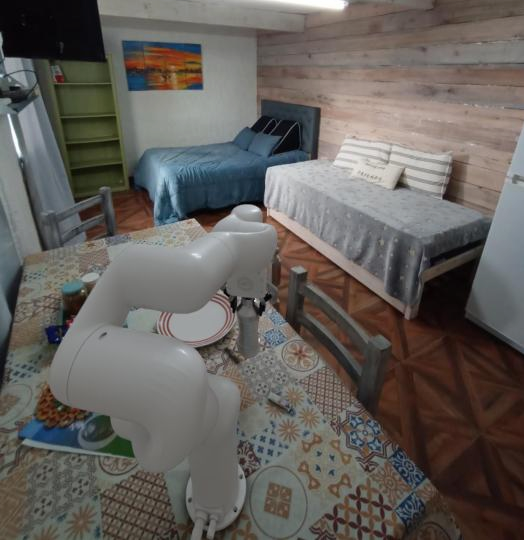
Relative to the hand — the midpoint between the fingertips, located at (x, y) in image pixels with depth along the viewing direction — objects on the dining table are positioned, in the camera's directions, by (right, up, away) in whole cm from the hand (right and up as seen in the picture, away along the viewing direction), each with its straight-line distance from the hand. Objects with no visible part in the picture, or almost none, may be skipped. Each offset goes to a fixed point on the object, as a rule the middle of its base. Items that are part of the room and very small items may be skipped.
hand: (248, 310), depth 84 cm
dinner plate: (-19, -14, +27) cm, 36 cm away
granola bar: (+8, -25, 0) cm, 26 cm away
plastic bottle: (0, -14, +6) cm, 15 cm away
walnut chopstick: (-6, -19, +14) cm, 25 cm away
